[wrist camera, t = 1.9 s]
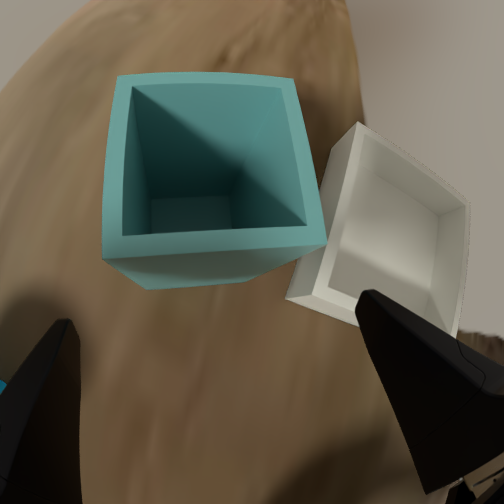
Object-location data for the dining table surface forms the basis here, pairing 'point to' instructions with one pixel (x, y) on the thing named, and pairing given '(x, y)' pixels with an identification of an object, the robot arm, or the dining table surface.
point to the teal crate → (207, 179)
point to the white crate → (386, 235)
